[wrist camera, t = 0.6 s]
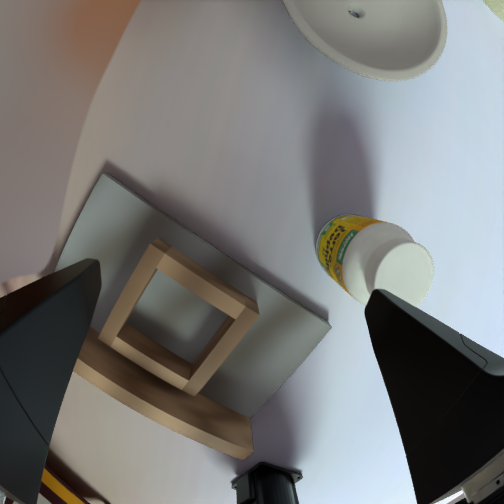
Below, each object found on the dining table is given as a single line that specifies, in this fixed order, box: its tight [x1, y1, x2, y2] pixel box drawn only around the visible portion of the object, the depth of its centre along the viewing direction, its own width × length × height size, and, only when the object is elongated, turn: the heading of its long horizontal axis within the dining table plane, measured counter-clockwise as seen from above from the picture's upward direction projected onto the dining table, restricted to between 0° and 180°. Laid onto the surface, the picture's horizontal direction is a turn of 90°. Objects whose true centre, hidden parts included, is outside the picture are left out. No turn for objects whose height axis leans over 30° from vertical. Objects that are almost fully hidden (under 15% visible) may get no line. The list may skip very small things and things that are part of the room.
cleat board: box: [54, 173, 332, 460], centre depth 22 cm, size 22×14×6 cm, turn 55°
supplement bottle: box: [316, 214, 434, 307], centre depth 19 cm, size 5×5×10 cm
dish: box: [283, 0, 447, 81], centre depth 17 cm, size 18×14×5 cm
